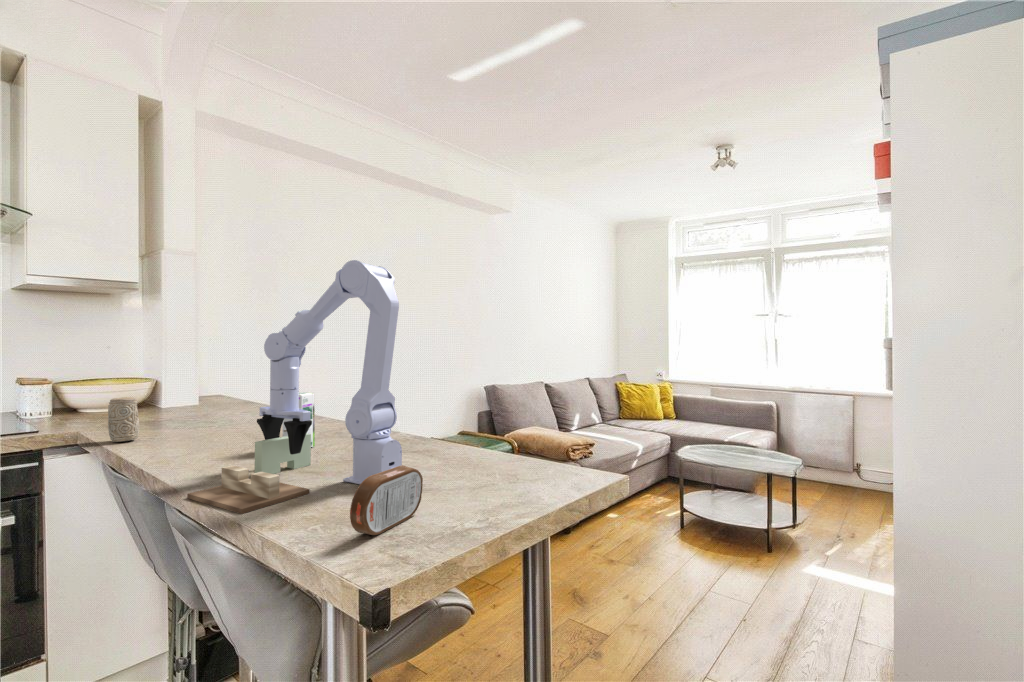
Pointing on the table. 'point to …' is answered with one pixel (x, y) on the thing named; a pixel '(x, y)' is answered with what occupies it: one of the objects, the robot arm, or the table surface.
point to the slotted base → (244, 498)
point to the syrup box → (306, 404)
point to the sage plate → (280, 454)
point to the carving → (123, 419)
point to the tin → (386, 500)
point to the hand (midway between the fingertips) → (283, 451)
